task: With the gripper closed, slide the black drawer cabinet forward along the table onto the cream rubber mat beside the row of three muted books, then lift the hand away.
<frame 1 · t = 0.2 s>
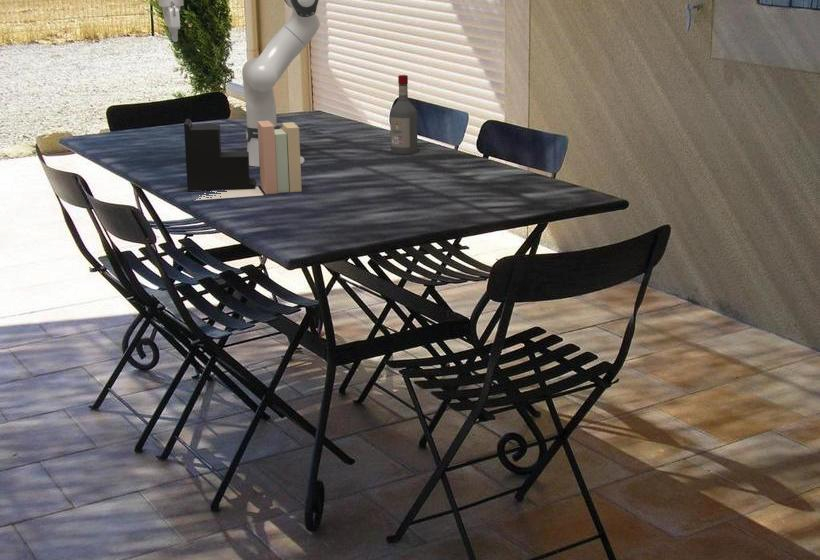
hand: (173, 40, 440), 47 cm above the table, tool pointing down, fingers open, 8 cm apart
liquor: (404, 152, 478), on the table
cream mat: (225, 193, 414), on the table
black drawer cabinet: (222, 187, 424), on the table, touching cream mat
book row: (281, 189, 419), on the table
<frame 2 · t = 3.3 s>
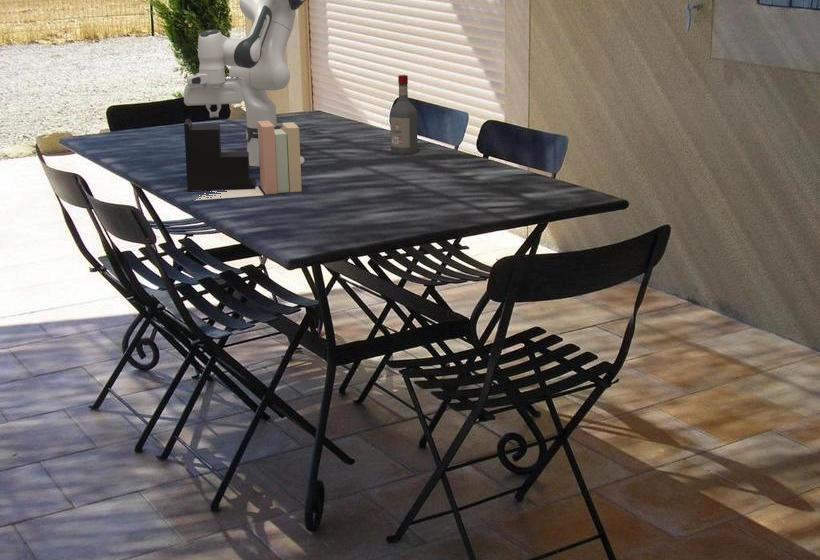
hand: (214, 117, 427), 23 cm above the table, tool pointing down, fingers closed
nothing on the table moved.
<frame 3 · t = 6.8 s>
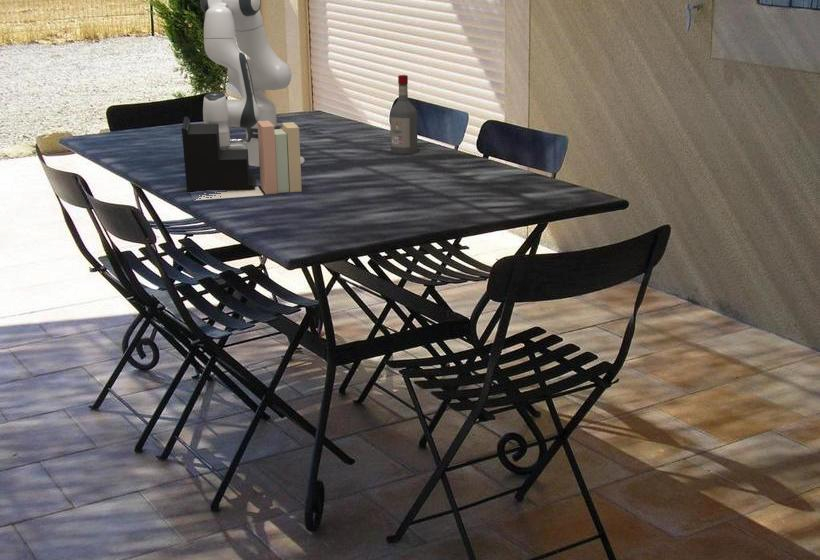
hand: (219, 179, 428), 2 cm above the table, tool pointing down, fingers closed
black drawer cabinet: (221, 185, 422), point 1 cm above the table, touching arm, gripper
everything else where it was.
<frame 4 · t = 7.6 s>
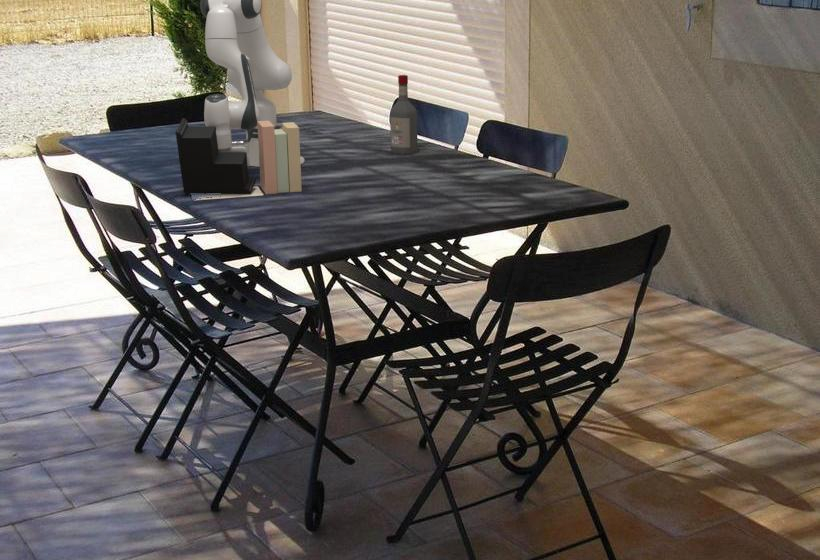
hand: (221, 181, 423), 2 cm above the table, tool pointing down, fingers closed
black drawer cabinet: (220, 187, 417), point 1 cm above the table, touching gripper
everything else where it was.
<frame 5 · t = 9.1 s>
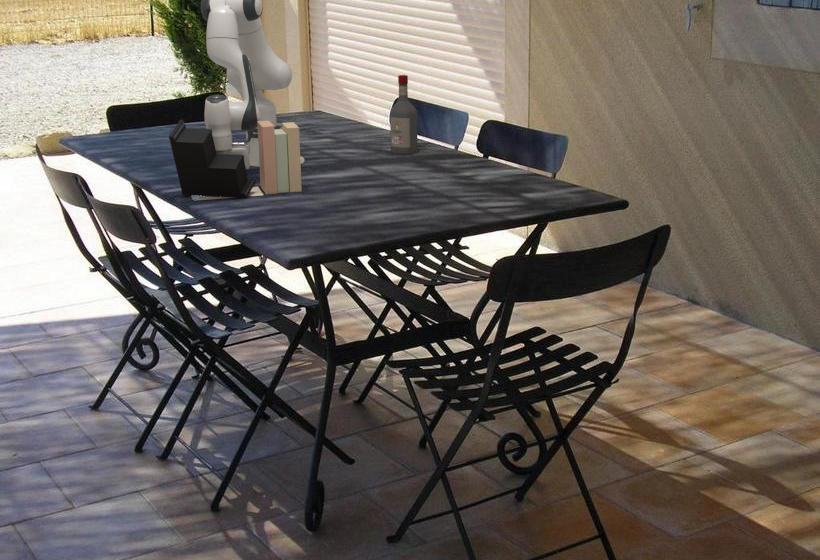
hand: (221, 183, 419), 2 cm above the table, tool pointing down, fingers closed
black drawer cabinet: (219, 188, 413), point 2 cm above the table, touching arm, cream mat, gripper
everything else where it was.
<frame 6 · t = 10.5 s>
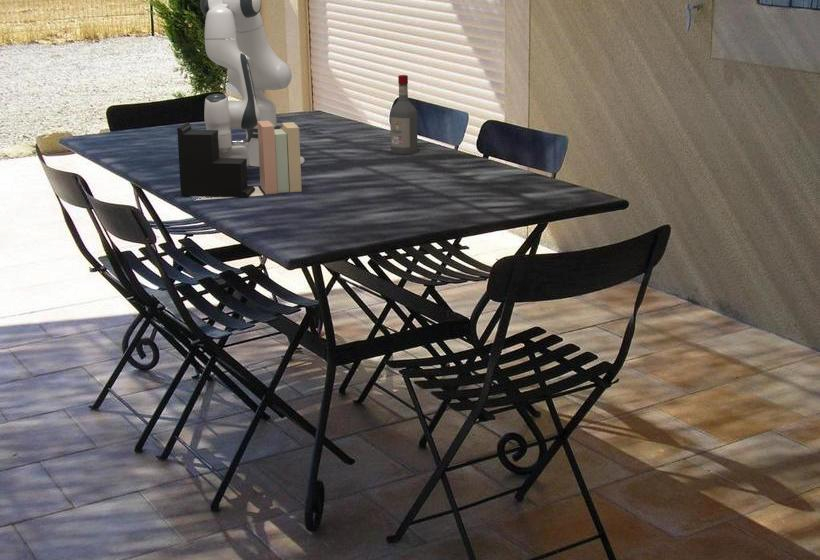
hand: (221, 180, 426), 2 cm above the table, tool pointing down, fingers closed
black drawer cabinet: (218, 194, 414), on the table, touching cream mat
everything else where it was.
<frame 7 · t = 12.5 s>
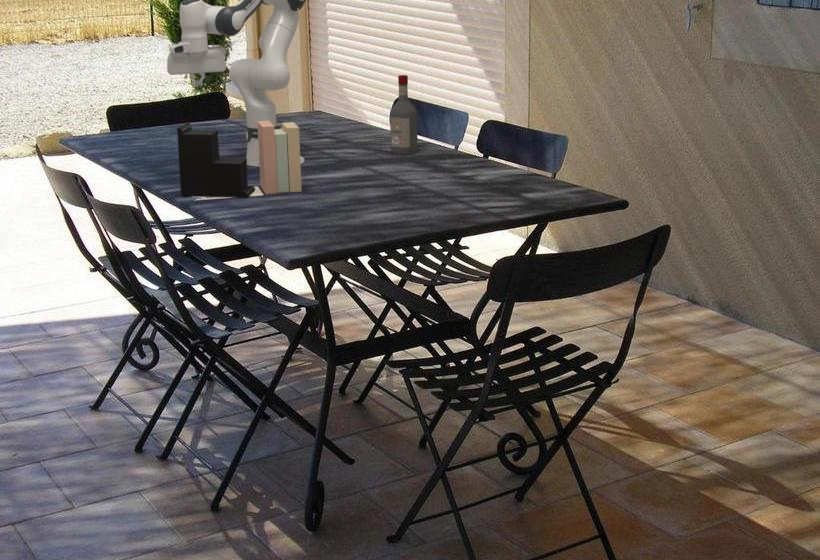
hand: (198, 85, 426), 33 cm above the table, tool pointing down, fingers closed
nothing on the table moved.
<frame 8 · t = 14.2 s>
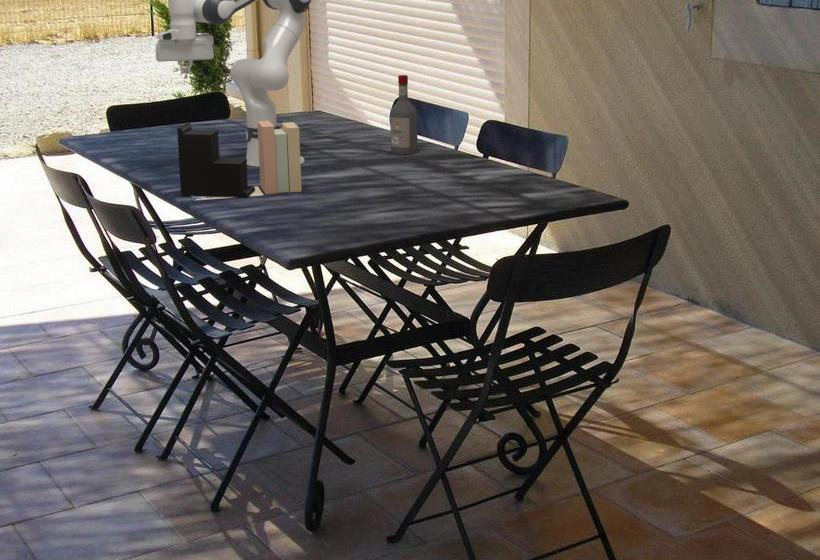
hand: (186, 73, 431), 37 cm above the table, tool pointing down, fingers closed
nothing on the table moved.
at the end: black drawer cabinet inside the target area (2.8 cm from its centre), on the table; black drawer cabinet tilted 0°; black drawer cabinet moved 9.8 cm from its start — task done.
